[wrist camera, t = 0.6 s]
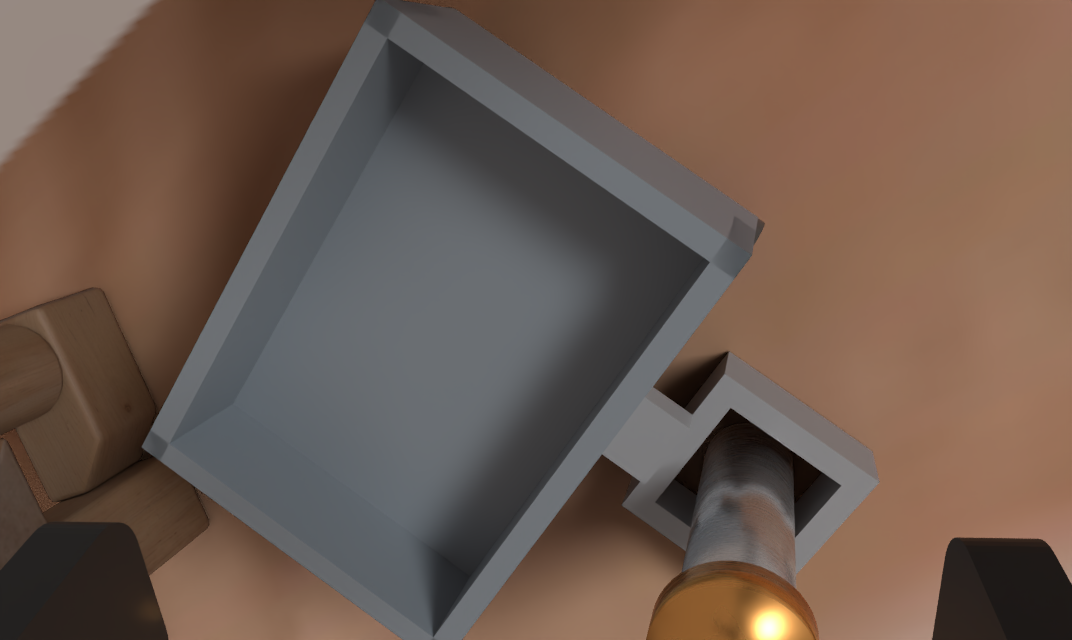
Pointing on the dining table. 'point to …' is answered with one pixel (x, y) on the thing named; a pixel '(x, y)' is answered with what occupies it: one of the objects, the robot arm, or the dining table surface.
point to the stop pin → (739, 549)
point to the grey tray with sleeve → (469, 332)
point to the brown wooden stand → (84, 431)
